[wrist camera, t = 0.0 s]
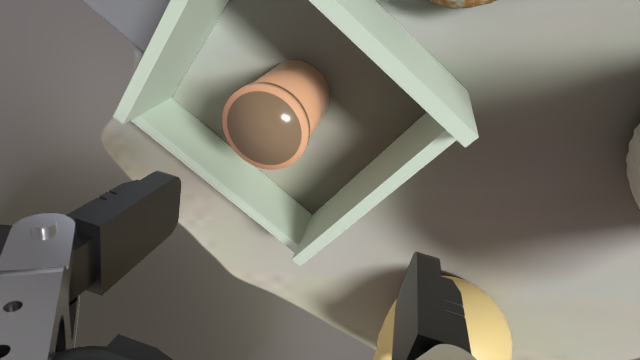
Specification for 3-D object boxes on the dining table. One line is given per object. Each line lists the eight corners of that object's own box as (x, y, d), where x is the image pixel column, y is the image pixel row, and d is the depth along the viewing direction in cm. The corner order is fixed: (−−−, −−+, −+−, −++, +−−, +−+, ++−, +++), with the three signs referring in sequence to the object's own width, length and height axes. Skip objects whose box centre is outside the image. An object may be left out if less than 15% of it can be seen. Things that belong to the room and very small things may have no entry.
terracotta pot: (290, 41, 32) (251, 65, 26) (347, 93, 33) (325, 130, 27) (249, 95, 36) (206, 129, 29) (303, 141, 37) (273, 185, 30)
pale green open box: (271, -102, 28) (209, -121, 20) (468, 91, 31) (478, 137, 23) (158, 97, 38) (91, 134, 31) (313, 225, 41) (286, 287, 34)
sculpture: (368, 306, 45) (352, 395, 36) (430, 242, 39) (429, 331, 30) (452, 354, 46) (457, 454, 37) (528, 299, 39) (556, 403, 30)
